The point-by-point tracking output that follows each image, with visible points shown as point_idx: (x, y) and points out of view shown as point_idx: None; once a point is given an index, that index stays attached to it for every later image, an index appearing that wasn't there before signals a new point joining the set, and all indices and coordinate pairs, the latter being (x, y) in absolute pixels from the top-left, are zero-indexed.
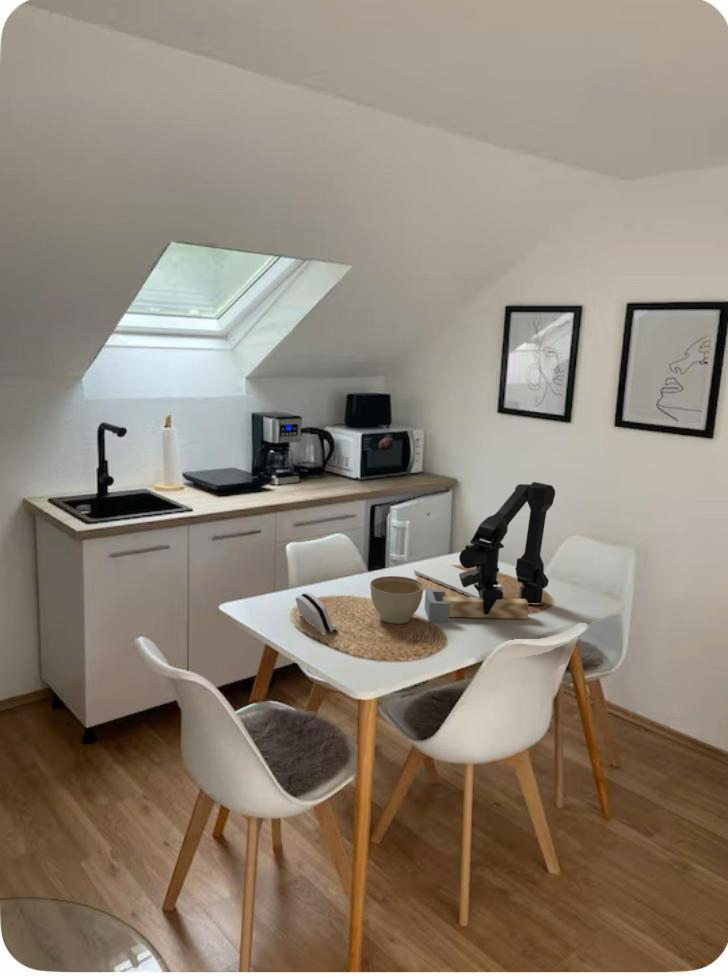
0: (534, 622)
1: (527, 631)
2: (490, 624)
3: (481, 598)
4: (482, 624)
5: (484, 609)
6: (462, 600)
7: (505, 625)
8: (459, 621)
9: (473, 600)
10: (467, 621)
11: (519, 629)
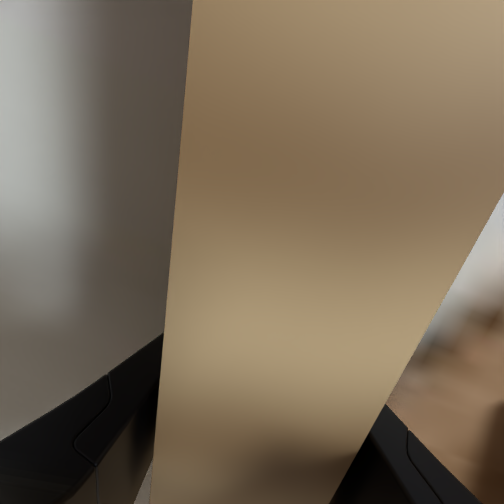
0: (143, 499)
1: (9, 433)
2: (94, 293)
3: (319, 444)
4: (88, 235)
5: (152, 342)
6: (276, 15)
7: (86, 372)
8: (151, 23)
9: (245, 301)
10: (152, 123)
11: (31, 412)
